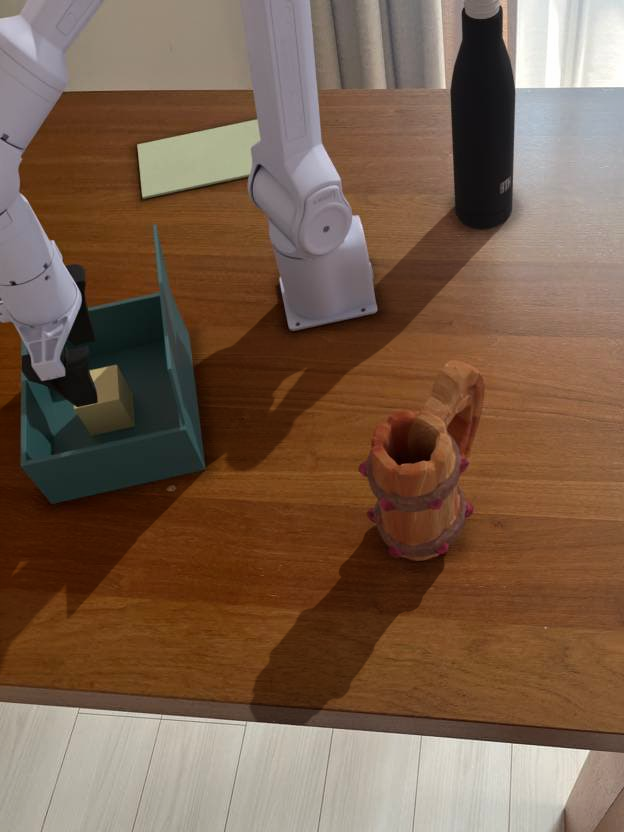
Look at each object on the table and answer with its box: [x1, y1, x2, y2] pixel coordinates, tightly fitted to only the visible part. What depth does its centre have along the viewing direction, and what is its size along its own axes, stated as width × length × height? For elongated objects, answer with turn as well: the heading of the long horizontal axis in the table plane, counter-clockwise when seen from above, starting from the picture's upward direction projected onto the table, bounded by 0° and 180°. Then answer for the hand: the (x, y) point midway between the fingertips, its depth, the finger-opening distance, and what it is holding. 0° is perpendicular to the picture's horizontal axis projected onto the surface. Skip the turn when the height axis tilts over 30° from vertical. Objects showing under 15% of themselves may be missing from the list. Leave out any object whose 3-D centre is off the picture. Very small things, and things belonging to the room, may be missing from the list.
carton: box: [20, 291, 206, 505], centre depth 86 cm, size 15×18×6 cm
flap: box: [152, 224, 185, 425], centre depth 80 cm, size 7×18×1 cm
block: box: [74, 365, 135, 436], centre depth 87 cm, size 4×4×4 cm
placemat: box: [137, 118, 260, 200], centre depth 108 cm, size 16×10×1 cm, turn 102°
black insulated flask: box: [449, 0, 516, 230], centre depth 86 cm, size 6×6×30 cm
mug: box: [357, 359, 486, 562], centre depth 74 cm, size 15×8×15 cm, turn 148°
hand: (85, 370), depth 83 cm, fingers open, 7 cm apart
